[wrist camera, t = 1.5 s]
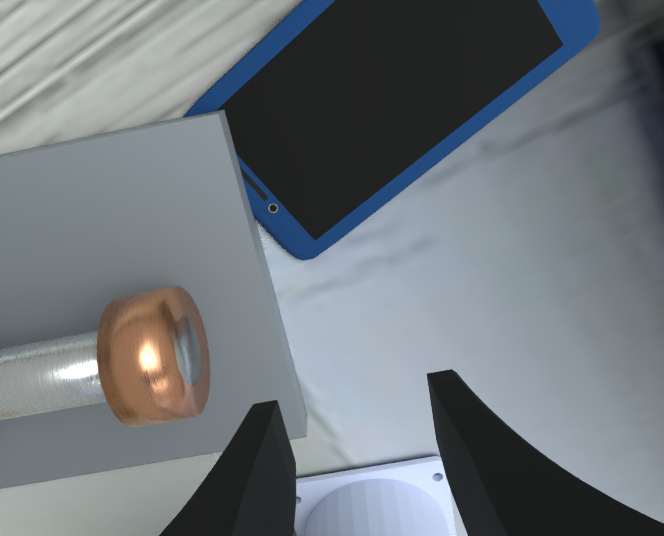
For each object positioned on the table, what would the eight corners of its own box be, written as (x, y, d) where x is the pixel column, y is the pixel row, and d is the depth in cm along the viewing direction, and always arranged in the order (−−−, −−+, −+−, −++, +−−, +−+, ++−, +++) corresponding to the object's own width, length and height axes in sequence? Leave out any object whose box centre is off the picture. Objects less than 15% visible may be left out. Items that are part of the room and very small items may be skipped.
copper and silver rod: (217, 367, 21) (192, 446, 17) (-81, 420, 21) (-176, 509, 17) (183, 266, 19) (146, 327, 15) (-141, 327, 20) (-261, 402, 16)
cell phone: (601, 28, 19) (611, 28, 18) (302, 263, 22) (302, 270, 21) (488, -173, 16) (495, -182, 16) (173, 123, 20) (168, 126, 19)
